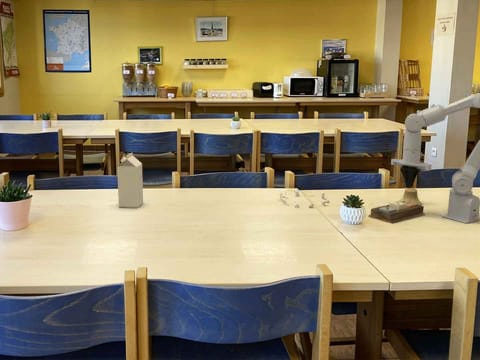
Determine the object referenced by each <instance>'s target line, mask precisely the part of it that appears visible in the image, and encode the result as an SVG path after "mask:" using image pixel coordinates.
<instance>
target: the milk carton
mask: <svg viewBox="0 0 480 360" xmlns="http://www.w3.org/2000/svg"><path fill="white" fill-rule="evenodd" d="M120 162H121V163H119V165H118V166H117V171H116V172H117V173H116V174H117V191H118V192H117V196H118V207H119V208H131V209H132V208H137V209H139V207H141V205H143V203H144V187H143V185H144V183H143V163H142V162H141V161H139V159H138V158H136V157H135V156H134V155H133V152H131V153H128V154H127V155H126V156H124V157H123V158H121V159H120Z"/></svg>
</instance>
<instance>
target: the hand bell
mask: <svg viewBox="0 0 480 360" xmlns="http://www.w3.org/2000/svg"><path fill="white" fill-rule="evenodd" d="M403 201H405V202H409V203H413V204H417V205H421V206H422V201H420V199H419V195H418V190H417V188H415V183H414V184H413V187H412V188H405V189H404V193H403V195H402V198H401V199H400V200H398V202H403Z"/></svg>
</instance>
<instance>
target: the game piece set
mask: <svg viewBox="0 0 480 360" xmlns="http://www.w3.org/2000/svg"><path fill="white" fill-rule="evenodd" d="M287 193H288V190H285V193H284V194H283V193H282V192H280V193H279V199H277V201H278V202H281V203H283V205H287V203H288V201H287V199H288V197H287V196H286V194H287ZM294 193H295V197H299V195H300V192H299V189H298V188H295V189H294ZM314 195H315V193H312V194H310V195H309V197H310V198H313V197H314ZM320 195H321V201H320V202H321V205H320V206H321V207H327V205H326V203H330V200H329V198H326V200H325V191H322V192H320ZM299 204H300V203H299V202H295V203H294V208H296V209H298V208H300V205H299ZM314 206H315V205H314V201H311V202H310V203H309V204H308V207H310V208H311V209H313V207H314Z"/></svg>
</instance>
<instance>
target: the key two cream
mask: <svg viewBox="0 0 480 360" xmlns="http://www.w3.org/2000/svg"><path fill="white" fill-rule="evenodd" d="M388 205H389V207H390V208H394V209H396V211H397V210H402V209H406V203H402V202H399V200H398V201H397V200H396V201H393V202H389V204H388Z"/></svg>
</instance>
